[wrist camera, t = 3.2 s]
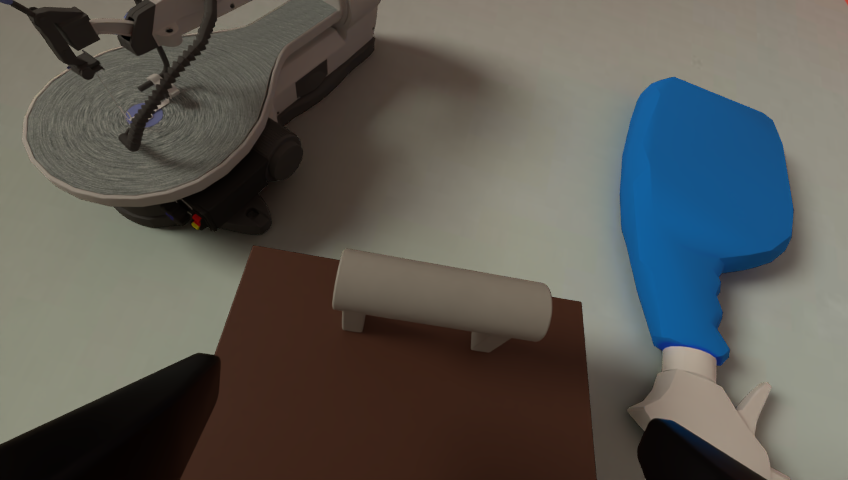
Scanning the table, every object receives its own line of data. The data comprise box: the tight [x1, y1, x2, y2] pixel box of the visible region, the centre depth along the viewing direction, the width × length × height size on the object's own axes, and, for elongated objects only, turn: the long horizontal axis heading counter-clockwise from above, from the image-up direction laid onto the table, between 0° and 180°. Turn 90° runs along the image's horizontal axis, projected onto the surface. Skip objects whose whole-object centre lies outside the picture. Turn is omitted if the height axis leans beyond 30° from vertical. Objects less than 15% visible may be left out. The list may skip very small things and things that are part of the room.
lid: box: [180, 245, 597, 480], centre depth 11 cm, size 10×13×5 cm
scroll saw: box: [0, 0, 381, 234], centre depth 19 cm, size 20×11×12 cm
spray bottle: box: [620, 77, 794, 480], centre depth 24 cm, size 3×11×24 cm
